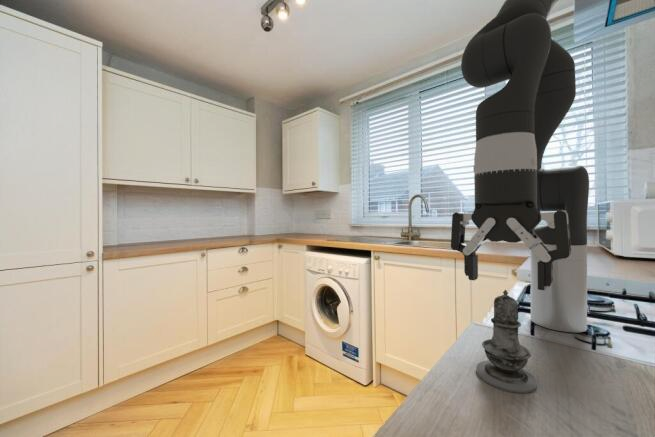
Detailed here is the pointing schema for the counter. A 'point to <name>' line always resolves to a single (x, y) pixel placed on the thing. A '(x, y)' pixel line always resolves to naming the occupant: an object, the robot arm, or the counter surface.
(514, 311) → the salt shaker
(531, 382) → the coaster
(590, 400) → the counter surface
